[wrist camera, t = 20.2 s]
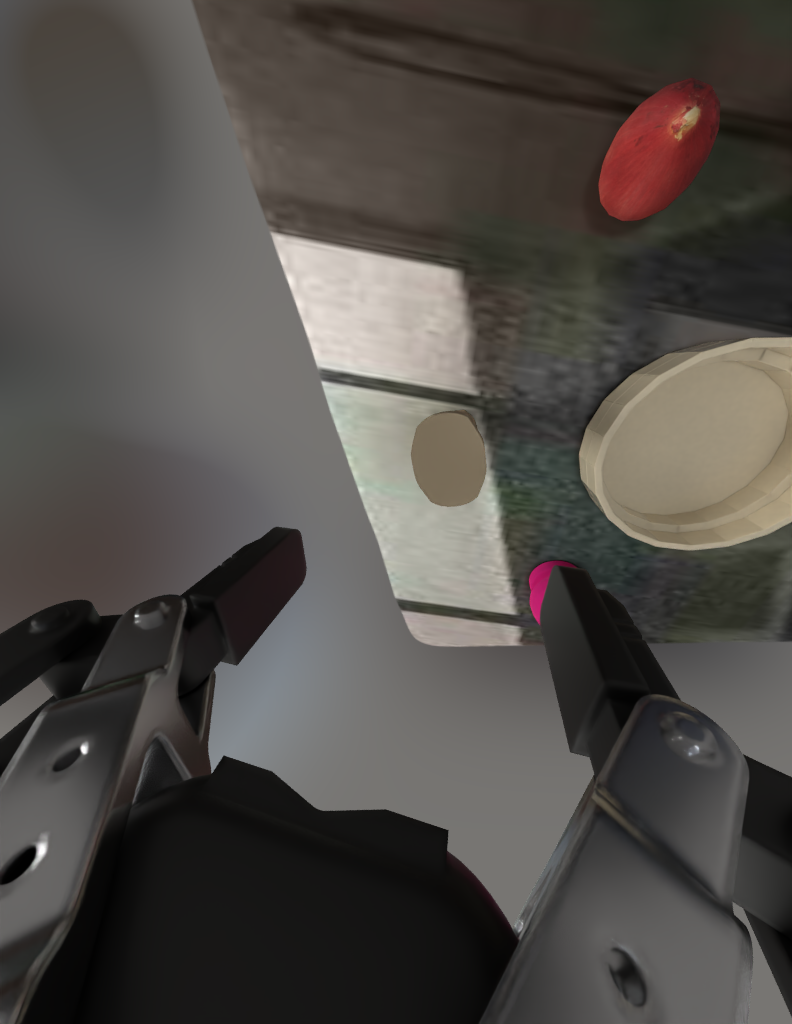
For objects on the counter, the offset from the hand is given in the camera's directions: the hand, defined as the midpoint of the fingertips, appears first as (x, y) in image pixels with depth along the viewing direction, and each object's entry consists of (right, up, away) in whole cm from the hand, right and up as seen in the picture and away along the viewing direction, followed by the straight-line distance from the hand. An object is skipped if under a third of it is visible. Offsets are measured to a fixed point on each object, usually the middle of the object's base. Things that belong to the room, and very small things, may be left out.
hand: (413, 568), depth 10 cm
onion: (+17, +27, +13) cm, 34 cm away
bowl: (+27, +8, +19) cm, 34 cm away
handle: (+7, +12, +24) cm, 27 cm away
